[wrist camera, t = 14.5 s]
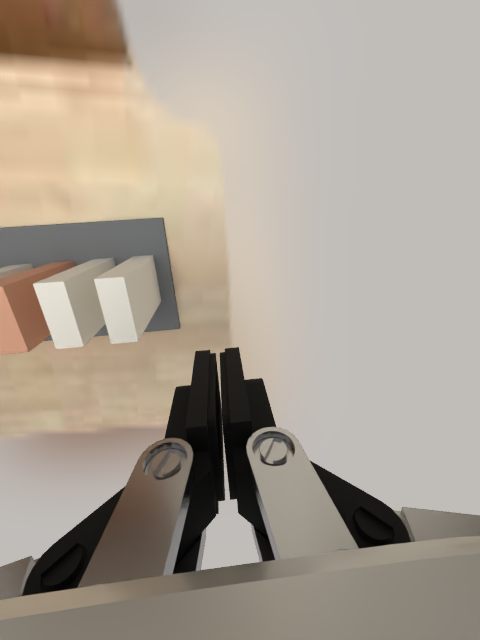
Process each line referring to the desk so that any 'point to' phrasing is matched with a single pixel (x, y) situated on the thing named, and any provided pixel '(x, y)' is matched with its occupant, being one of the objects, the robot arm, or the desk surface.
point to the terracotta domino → (24, 309)
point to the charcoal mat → (97, 253)
